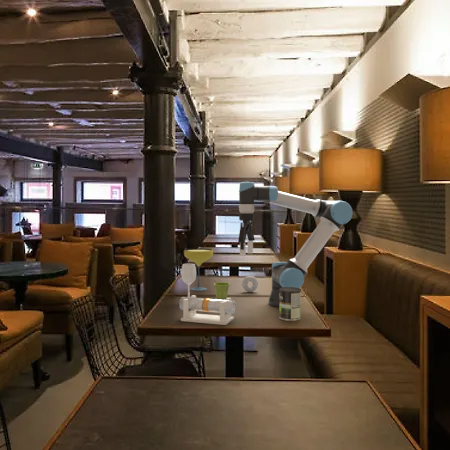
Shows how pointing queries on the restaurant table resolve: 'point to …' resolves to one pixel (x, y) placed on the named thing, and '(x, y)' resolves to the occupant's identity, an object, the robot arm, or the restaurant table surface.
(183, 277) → the wineglass
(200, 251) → the cocktail glass
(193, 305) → the air tube
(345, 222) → the robot arm
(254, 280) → the donut
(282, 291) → the coffee can
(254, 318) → the restaurant table surface
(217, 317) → the collar stand
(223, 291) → the plant pot
